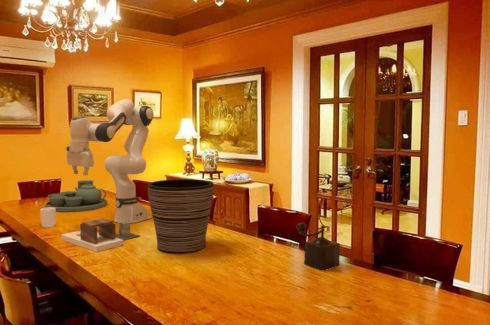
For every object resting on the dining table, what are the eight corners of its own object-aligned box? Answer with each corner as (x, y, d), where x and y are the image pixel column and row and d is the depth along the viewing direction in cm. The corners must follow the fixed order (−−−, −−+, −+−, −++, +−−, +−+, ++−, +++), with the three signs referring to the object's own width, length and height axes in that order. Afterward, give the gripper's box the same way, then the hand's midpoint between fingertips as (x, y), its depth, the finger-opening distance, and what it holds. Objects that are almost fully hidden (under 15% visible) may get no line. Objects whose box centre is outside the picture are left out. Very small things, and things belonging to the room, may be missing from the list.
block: (118, 236, 208) (118, 222, 207) (125, 234, 211) (125, 221, 210) (123, 237, 205) (123, 223, 205) (130, 235, 208) (130, 222, 208)
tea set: (45, 204, 295) (44, 181, 294) (103, 200, 312) (102, 178, 311) (45, 215, 259) (44, 189, 258) (110, 209, 277) (110, 185, 275)
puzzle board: (87, 233, 214) (87, 229, 213) (123, 245, 193) (123, 239, 193) (61, 239, 203) (60, 234, 202) (96, 252, 183) (96, 246, 182)
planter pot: (150, 259, 173) (149, 189, 170) (147, 240, 202) (146, 180, 199) (219, 253, 181) (219, 186, 178) (207, 236, 210) (207, 178, 207)
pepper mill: (319, 258, 175) (320, 217, 173) (340, 265, 166) (341, 222, 165) (293, 266, 165) (294, 222, 164) (313, 274, 157) (314, 228, 155)
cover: (101, 234, 202) (101, 218, 201) (115, 238, 195) (115, 221, 194) (80, 238, 194) (80, 221, 193) (94, 243, 186) (94, 225, 185)
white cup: (50, 228, 225) (49, 210, 224) (37, 227, 227) (36, 209, 226) (59, 224, 233) (58, 207, 232) (47, 224, 234) (46, 206, 233)
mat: (127, 232, 216) (127, 232, 216) (140, 236, 209) (140, 235, 209) (108, 237, 207) (108, 236, 207) (121, 241, 200) (121, 240, 200)
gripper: (96, 148, 207) (97, 175, 208) (75, 147, 220) (76, 172, 221) (85, 149, 202) (85, 176, 203) (64, 147, 215) (64, 173, 216)
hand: (80, 174), depth 212 cm, fingers open, 8 cm apart
